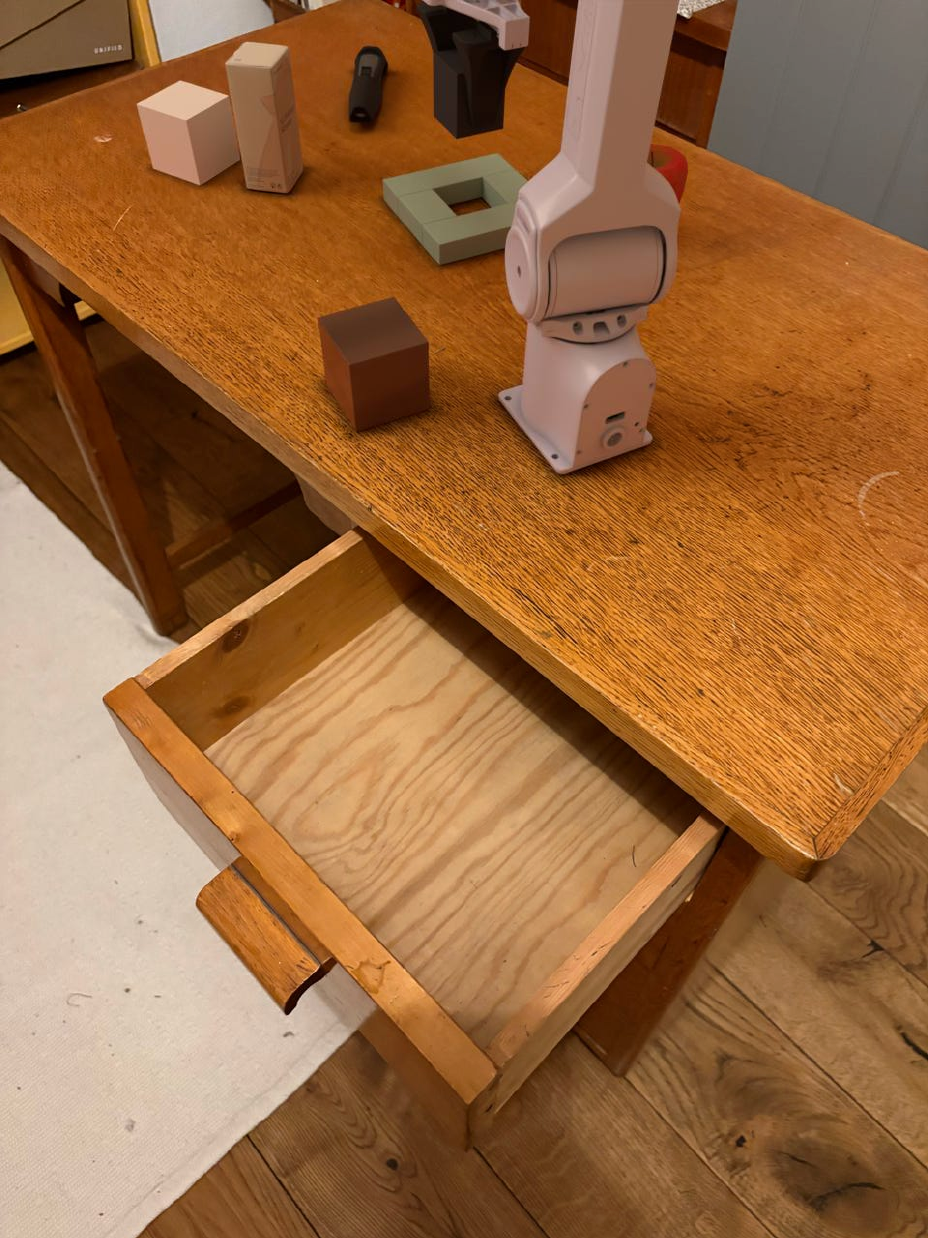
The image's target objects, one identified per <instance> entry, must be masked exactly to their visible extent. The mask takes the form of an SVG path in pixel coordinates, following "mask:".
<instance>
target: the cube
mask: <svg viewBox="0 0 928 1238" xmlns="http://www.w3.org/2000/svg"><path fill="white" fill-rule="evenodd" d="M317 325H318V331H319V340H320V348H321V355H322V364H323V371H324V380H325V385H326V387H327V389H328V390H329V391H330V392H329V393H330V394H331V395H332V396H333V398H334V400H335V401H336V403H337V404H338V406H339V407H340V409H341V411H342V412H343V414H344V415H345V418H346V419H347V420H348V422H349V424H350V425H351V426H352V428H353V430H354V431H355V432H356V433H358V432H361V431H364V430H367V429H371V428H374V427H377V426H380V425H384V424H387V423H390V422H393V421H396V420H400V419H403V418H406V417H409V416H413V415H415V414H418V413H422V412H425V411H429V410H430V409H431V398H430V395H431V394H430V393H431V392H430V342H429V340H428V339H427V337H426V336H425V335H424V334H423V332H422V331H421V330H420V328H418V326H417V325H416V323H415V322H414V321H413V319H412V318H411V317H410V315H409V314H408V313H407V312H406V310H405V309H404V307H403V306H402V304H400V303H399V301H398V300H397V298H396V297H395V296H391V297H388V298H383V299H381V300H377V301H373V302H369V303H365V304H362V305H357V306H355V307H350V308H347V309H344V310H343V309H342V310H340V311H336V312H333V313H329V314H325V315H321V316H317Z"/></svg>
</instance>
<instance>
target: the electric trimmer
mask: <svg viewBox="0 0 928 1238" xmlns="http://www.w3.org/2000/svg"><path fill="white" fill-rule="evenodd" d="M388 69H389V62H388V60H387V58H386V56H385V53H384V52H383V51H382V49H381V48H380V47H378V46H373V45H366V46H363V47H361V49H359V51H358V53H357V54H356V56H355V57H354V69H353V77H352V82H351V87H350V90H349V94H348V113H347V114H348V119H349V120H348V121H349V122H351V123H361V124H363V123H365V124H366V123H367V124H370V123H372V122H373V120H374V119H375V116H376V115H377V113H378V109H379V108H380V106H381V103H382V100H383V92H382V79H383V74H386V73H387V71H388Z"/></svg>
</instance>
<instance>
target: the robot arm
mask: <svg viewBox="0 0 928 1238" xmlns="http://www.w3.org/2000/svg"><path fill="white" fill-rule="evenodd" d="M679 5H680V0H578V3H577V9H576V18H575V19H576V20H575V26H574V27H575V28H574V36H573V43H572V53H571V61H570V69H569V76H568V84H567V93H566V102H565V110H564V117H563V119H564V120H563V126H562V127H563V128H562V136H561V144H560V151H559V152H558V154H557V155H556V156H555V157H554V158H553V159H552V160H551V161H549V163H548V164H546V165H545V166H544V167H543V168H541V169H540V170H539V171H538V172H537V173H536V174H534V175H533V176H532V177H531V178H530V179H529V180H527V181H528V182H527V183H526V184H525V185H524V186H523V187H522V188H521V189H520V190H519V193H518V201H517V202H516V207H515V214H514V219H513V223H512V226H511V229H510V231H509V233H508V235H507V239H506V245H505V248H504V269H505V279H506V284H507V285H506V286H507V289H508V294H509V296H510V301H511V303H512V306H513V307H514V309H515V311H516V312H517V314H519V315H520V316H521V317H522V319H523V320H524V321H526V322H527V325H526V337H525V347H524V348H525V349H524V361H523V370H522V371H523V372H522V373H523V374H522V384H520V385H519V384H518V385H517V386H513V387H510V388H506V389H504V390H501V391H499V392H498V393H497V394H498V395H497V398H498V401H499V402H500V403H501V405H502V406H503V407H504V409H505V410H506V411H507V412H508V413H509V415H510V416H511V417H512V418H513V420H514V421H515V422H516V424H517V425H518V426H519V427H520V429H521V430H522V431H523V432H524V434H525V435H526V436H527V437H528V439H529V440H530V441H531V442H532V444H533V445H534V446H535V448H537V450H538V451H539V453H540V454H541V455H542V456H543V457H544V458H545V460H546V461H547V462H548V464H549V465H550V467H552V469H553V470H554V471H555V472H556V473H557V474H559V475H565V474H568V473H571V472H574V471H577V470H579V469H583V468H585V467H588V466H591V465H594V464H596V463H599V462H603V461H605V460H608V459H611V458H613V457H616V456H619V455H622V454H626V453H627V452H631V451H633V450H636V449H639V448H642V447H644V446H645V447H646V446H649V445H650V444H651V443H652V442H653V435H652V433H650V431H649V430H648V429H647V426H648V421H649V418H650V412H651V407H652V404H653V399H654V395H655V391H656V388H657V387H656V386H657V380H658V373H657V372H658V371H657V369H656V367H655V364H654V363H653V361H652V359H651V358H650V357H649V355H648V354H647V353H646V350H645V349H644V347H643V345H642V343H641V340H640V335H639V332H638V324H639V323H643V322H645V321H647V318H648V313H649V308H650V305H655V304H659V303H661V302H662V301H663V300H664V299H665V298H666V296H667V295H668V293H669V291H670V289H671V287H672V285H673V283H674V280H675V278H676V273H677V268H678V259H679V257H678V255H679V254H678V233H679V225H680V224H679V223H680V218H681V213H682V209H681V206H680V203H678V200H677V198H676V195H675V193H674V191H673V189H672V187H671V185H670V184H669V182H668V181H667V180H666V179H665V178H664V177H663V175H662V174H661V173H659V172H658V171H657V170H656V169H654V168H653V167H652V166H651V165H649V164H648V163H647V159H648V154H649V149H650V144H652V140H653V139H652V138H653V134H654V129H655V124H656V119H657V115H658V110H659V109H658V108H659V105H660V100H661V94H662V89H663V85H664V79H665V75H666V69H667V64H668V59H669V55H670V50H671V45H672V40H673V35H674V29H675V24H676V20H677V15H678V10H679ZM416 12H417V14H418V17H419V18H420V20H421V22H422V25H423V27H424V29H425V32H426V34H427V38H428V39H429V44H430V46H431V49H432V53H434V52H439V51H444V50H449V49H455V48H457V50H458V53H459V56H460V60H461V63H462V67H463V72H464V78H465V85H466V98H467V109H468V116H469V120H470V124H471V126H472V127H473V128H479V127H484V126H488V125H493V124H495V123H496V119H497V116H498V113H499V109H500V106H501V102H502V98H503V95H504V92H505V93H506V88H507V85H508V82H509V79H510V77H511V75H512V73H513V70H514V68H515V66H516V64H517V62H518V60H519V58H521V55H522V53H523V52H524V51H525V49H526V47H529V36H530V23H531V22H530V20H531V17H530V16H529V15H528V14H527V13H525V11H524V10H523V8H522V6H521V3H520V1H519V0H421V1H419V2H418V3H417V4H416Z"/></svg>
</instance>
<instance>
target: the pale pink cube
mask: <svg viewBox="0 0 928 1238" xmlns="http://www.w3.org/2000/svg"><path fill="white" fill-rule="evenodd" d="M136 107H137V112H138V115H139V120H140V123H141V127H142V131H143V135H144V139H145V143H146V146H147V151H148V155H149V158H150V162H151V166H152V169H153V170H156V171H158V172H161V173H164V174H167V175H170V176H173V177H175V178H178V179H180V180H183V181H186V182H189V183H191V184H194V185H197V186H202V185H203V184H205V183H207V182H208V181H209V180H211V179H213V178H214V177H216V176H217V175H219V174H221V173H223V172H224V171H225V170H226V169H229V167H232V166H233V165H235V163H238V162H239V161H241V155H240V149H239V143H238V138H237V132H236V126H235V121H234V115H233V110H232V105H231V98H230V95H228V94H224V93H221V92H218V91H216V90H213V89H209V88H206V87H202V86H200V85H196V84H194V83H190V82H187V81H183V80H181V79H179V80H178V81H176V82H174V83H173V84H171V85H169V86H167V87H165V88H164V89H162V90H160V91H158V92H156V93H154V94H152V95H151V96H149V97H147V98H145V99H143V100H142V101H139V102H138V103H136Z"/></svg>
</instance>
